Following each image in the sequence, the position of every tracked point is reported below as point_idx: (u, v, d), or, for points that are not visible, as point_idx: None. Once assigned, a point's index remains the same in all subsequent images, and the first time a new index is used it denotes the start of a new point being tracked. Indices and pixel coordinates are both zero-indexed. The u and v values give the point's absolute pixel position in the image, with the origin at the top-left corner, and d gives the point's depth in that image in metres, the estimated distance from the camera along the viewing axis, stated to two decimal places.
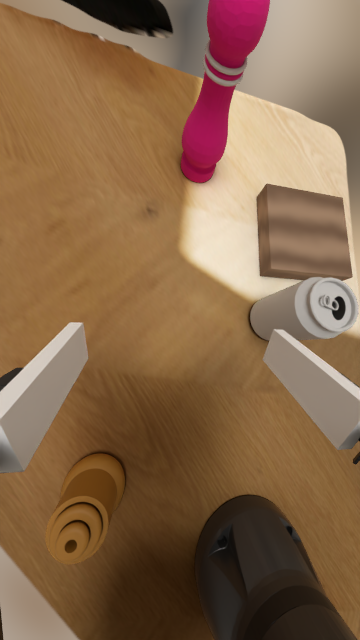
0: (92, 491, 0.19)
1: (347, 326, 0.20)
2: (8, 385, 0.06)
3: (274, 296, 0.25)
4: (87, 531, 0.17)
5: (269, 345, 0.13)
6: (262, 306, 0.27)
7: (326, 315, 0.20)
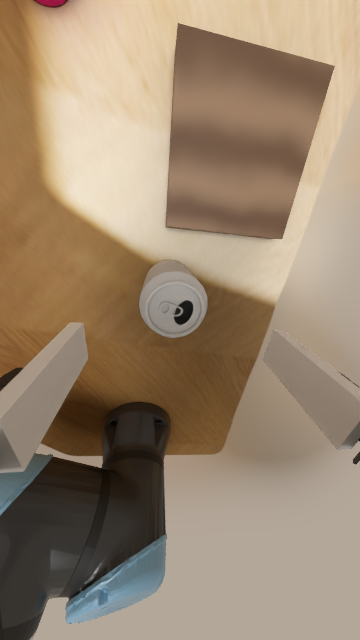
0: None
1: (185, 332, 0.19)
2: (8, 385, 0.06)
3: (149, 275, 0.22)
4: None
5: (269, 345, 0.13)
6: (145, 280, 0.24)
7: (166, 320, 0.19)
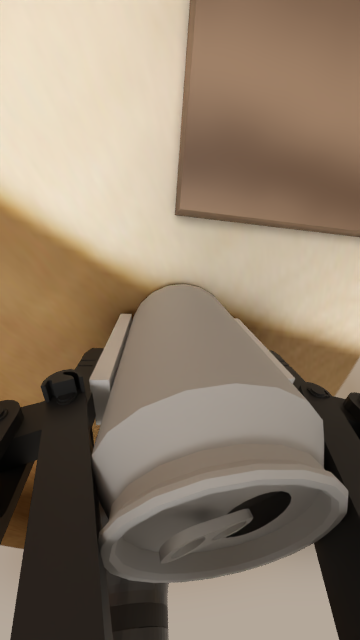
0: None
1: (250, 564, 0.06)
2: (101, 358, 0.08)
3: (134, 337, 0.08)
4: None
5: None
6: None
7: None
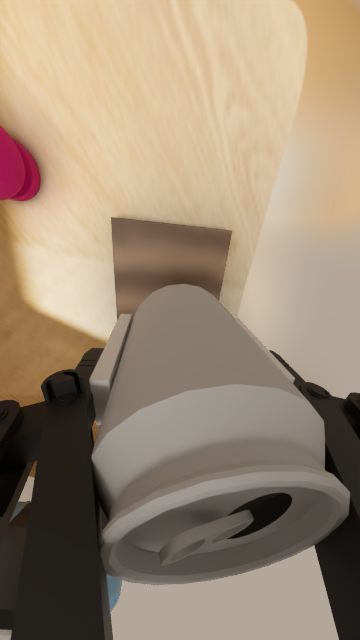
0: None
1: (251, 565, 0.06)
2: (101, 358, 0.08)
3: (134, 337, 0.08)
4: None
5: None
6: (127, 337, 0.10)
7: None
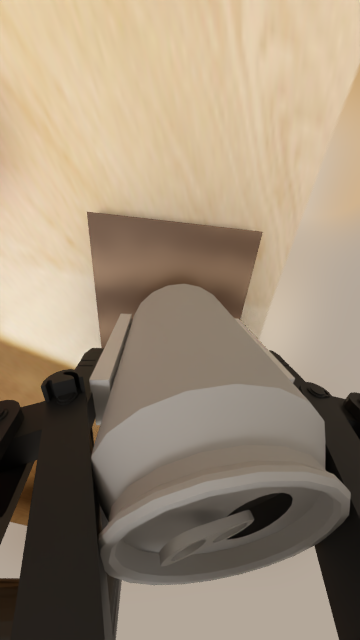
0: None
1: (251, 566, 0.06)
2: (101, 358, 0.08)
3: (134, 337, 0.08)
4: None
5: None
6: (127, 337, 0.10)
7: None
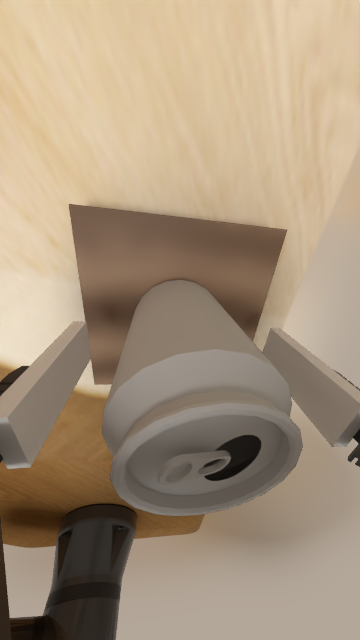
0: None
1: (232, 502, 0.07)
2: (15, 383, 0.07)
3: (136, 324, 0.10)
4: None
5: (266, 344, 0.13)
6: (130, 325, 0.12)
7: None
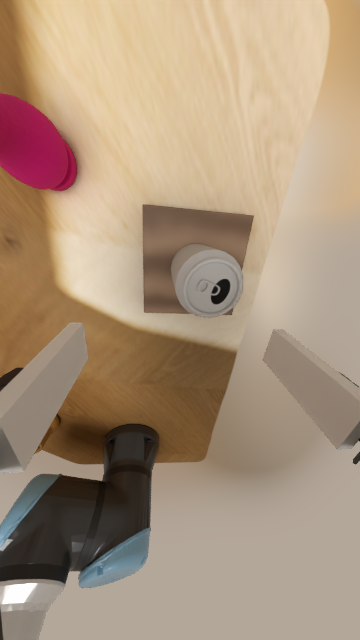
0: None
1: (221, 312, 0.19)
2: (8, 386, 0.06)
3: (180, 257, 0.22)
4: None
5: (269, 345, 0.13)
6: (174, 263, 0.24)
7: (203, 299, 0.19)
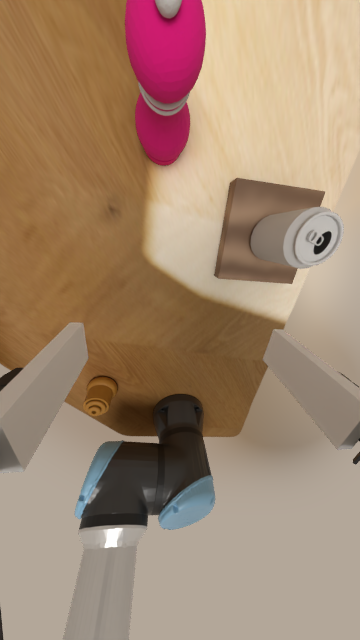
0: (99, 396, 0.41)
1: (320, 261, 0.24)
2: (8, 385, 0.06)
3: (276, 219, 0.26)
4: (99, 408, 0.41)
5: (269, 345, 0.13)
6: (263, 228, 0.28)
7: (307, 249, 0.23)
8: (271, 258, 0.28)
